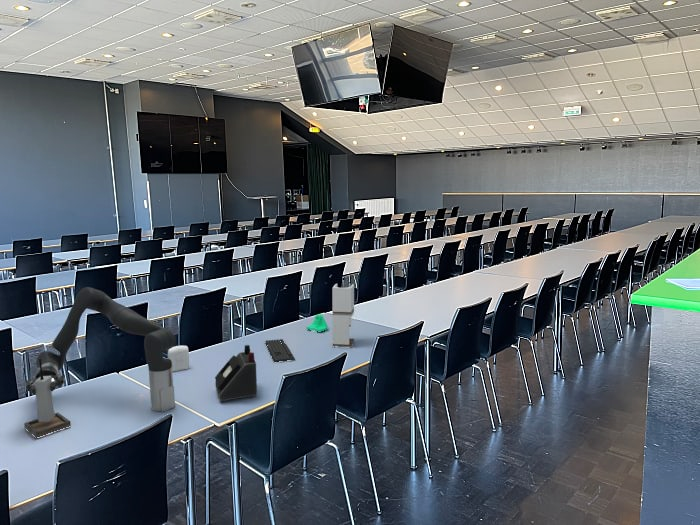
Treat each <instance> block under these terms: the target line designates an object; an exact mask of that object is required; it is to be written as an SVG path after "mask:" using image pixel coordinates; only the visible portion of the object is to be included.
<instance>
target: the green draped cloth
mask: <svg viewBox="0 0 700 525" xmlns="http://www.w3.org/2000/svg"><path fill="white" fill-rule="evenodd" d="M308 329H311V330H315V331H319V332H318V333H322V332H321V331H323V332H325V331H327V330H326V329H329V327H328V323H327V322H326V320H325V318H324V315H323V314H322V313H319V314H316V315H315V316H314V320H313V321H312V324H309V325H307V326H306V330H308ZM324 330H325V331H324Z"/></svg>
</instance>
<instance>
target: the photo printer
mask: <svg viewBox="0 0 700 525" xmlns="http://www.w3.org/2000/svg"><path fill="white" fill-rule="evenodd" d="M189 352H190V351H189V347H188V346H187V345H176V346H175V345H174V346H173V347H172V348H171V349H169V350H167V358H168V359H170V360H171V361H172V373H173V372H178V371H183V370H188V369H190V356H189V355H190V354H189Z"/></svg>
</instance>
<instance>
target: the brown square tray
mask: <svg viewBox="0 0 700 525" xmlns="http://www.w3.org/2000/svg"><path fill="white" fill-rule="evenodd" d="M69 426H71V427H72V423H71V420H69V419H68V418H66V417H65V416H64V415H62V413H59V412H55V417H54V418H53V419H51V420H50V421H49V422H39V421H38V418H37V419H33V420H29V421H28V422H24V429H25V428H26V429H27V430H28V431H29V432H30V433H31V434H33V435H34V436H35V437H36V438H37V437H40V436H43V435H46V434H48V433H51V432H54V431H57V430H60V429H63V428H66V427H69ZM29 432H28V433H29ZM30 433H29V434H30ZM31 434H30V435H31ZM36 438H35V439H36Z"/></svg>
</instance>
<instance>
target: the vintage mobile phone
mask: <svg viewBox="0 0 700 525" xmlns="http://www.w3.org/2000/svg"><path fill="white" fill-rule="evenodd" d="M39 363H40V376H41V377H40V378H39V379H37V380H36V381H35V382H34V384H35V392H36V394H35V400H36V410H37V411H36V412H37V419H38V421H39V422H49V421H50V420H51V419H53V418H54V417H55V413H56V412H55V410H54V403H53V402H54V401H53V394H52V393H53V391H51V383H52V377H51V376H43V371H42V364H41V359H39Z"/></svg>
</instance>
